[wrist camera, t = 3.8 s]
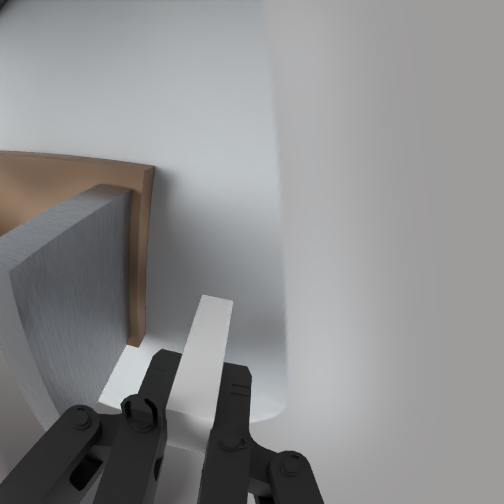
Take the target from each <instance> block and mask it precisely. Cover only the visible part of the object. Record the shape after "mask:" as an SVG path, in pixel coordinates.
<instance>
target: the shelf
mask: <svg viewBox="0 0 504 504" xmlns="http://www.w3.org/2000/svg"><path fill="white" fill-rule="evenodd" d="M154 167H155V166H150V165H144V164H137V163H130V162H122V161H115V160H107V159H98V158H89V157H80V156H70V155H59V154H47V153H34V152H17V151H0V237H1V236H3V235H4V234H6V233H8V232H9V231H11V230H12V229H14V228H16V227H17V226H19V225H21V224H23V223H24V222H26V221H28V220H29V219H31V218H33V217H35V216H37V215H38V214H40V213H42V212H44V211H46V210H48V209H49V208H51V207H53V206H55V205H57V204H59V203H61V202H63V201H65V200H67V199H69V198H71V197H73V196H75V195H77V194H79V193H81V192H83V191H85V190H87V189H89V188H92V187H94V186H96V185H98V184H100V183H101V184H107V185H113V186H119V187H125V188H131V189H133V192H132V204H131V220H130V242H129V309H130V331H131V337H130V339H129V341H128V343H127V345H131V346H134V347H138V348H139V346H140V344H141V342H142V340H143V338H144V336H145V280H146V255H147V238H148V224H149V213H150V202H151V192H152V183H153V175H154Z"/></svg>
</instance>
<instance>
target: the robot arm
mask: <svg viewBox="0 0 504 504" xmlns="http://www.w3.org/2000/svg"><path fill="white" fill-rule="evenodd" d="M5 1H6V0H0V7H1V6H2V5H3V4H4V2H5ZM233 302H234V301H232V300H227V299H222V298H217V297H213V296H208V295H203V294H202V297H201V300H200V303H199V306H198V309H197V311H196V314H195V317H194V320H193V324H192V327H191V330H190V333H189V336H188V339H187V342H186V345H185V348H184V351H183V354H181V353H177V352H173V351H169V350H165V349H161V350H159V351H158V352H157V353H156V354H155V355H154V356H153V357H152V360H151V362H150V365H149V368H148V369H147V372H146V375H145V377H144V379H143V382H142V384H141V387H140V389H139V392H138V394H134V395H130V396H128V397H127V398H125V399H124V400H123V401H122V403H121V409H122V413H121V414H117V415H109V414H97V413H96V412H95V411H94V410H93V409H92V408H91V407H88V406H86V405H79V404H78V405H74V406H71V407H70V408H68V409H67V410H66V411H65V412H64V413H63V414H62V415H61V416H60V418H59V419H58V420H57V421H56V422H55V423H54V424H53V425H52V426H51V427H50V428H49V430H48V431H47V432H46V433H45V434H44V435H43V436H42V438H40V440H39V441H38V442H37V443H36V444H35V445H34V446H33V447H32V448H31V450H30V451H29V452H28V453H27V454H26V455H25V456H24V457H23V459H22V460H21V461H20V462H19V463H18V464H17V465H16V467H15V468H14V469H13V470H12V471H11V472H10V473H9V475H8V476H7V477H6V478H5V479H4V480H3V482H2V483H1V484H0V504H79V503H80V501H81V500H82V499H83V497H84V496H85V495H86V493H87V492H88V490H89V489H90V488H91V486H92V485H93V484H94V482H95V481H96V479H97V478H98V477H99V475H100V474H101V473H102V471H103V470H104V471H103V474H102V477H101V480H100V483H99V486H98V489H97V492H96V495H95V498H94V501H93V504H153V502H154V498H155V493H156V489H157V485H158V480H159V476H160V472H161V468H162V464H163V460H164V450H165V446H166V442H167V445H170V446H174V447H178V448H183V449H187V450H192V451H197V452H202V453H205V460H204V464H203V469H202V476H201V482H200V488H199V494H198V501H197V504H247V496H248V492H249V493H252V494H253V495H254V499H255V503H256V504H324V502H323V499H322V496H321V494H320V491H319V488H318V485H317V483H316V480H315V477H314V474H313V472H312V469H311V466H310V464H309V462H308V460H307V459H306V457H304V456H303V455H302V454H300V453H298V452H295V451H283V452H280V453H276V452H274V451H271V450H269V449H266V448H264V447H262V446H260V445H258V444H257V443H256V442H255V441H254V440H253V438H252V437H251V435H250V433H249V417H250V400H251V398H250V397H251V383H252V376H251V374H250V371H249V369H248V367H247V366H242V365H236V364H231V363H226V362H224V356H225V350H226V344H227V338H228V332H229V326H230V320H231V314H232V308H233ZM104 468H105V469H104Z"/></svg>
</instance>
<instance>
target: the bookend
mask: <svg viewBox="0 0 504 504" xmlns="http://www.w3.org/2000/svg"><path fill="white" fill-rule="evenodd" d="M132 192H133V189H131V188H125V187H119V186H113V185H107V184H101V183H100V184H98V185H96V186H94V187H92V188H89V189H87V190H85V191H83V192H81V193H79V194H77V195H75V196H73V197H71V198H69V199H67V200H65V201H63V202H61V203H59V204H57V205H55V206H53V207H51V208H49V209H48V210H46V211H44V212H42V213H40V214H38V215H37V216H35V217H33V218H31V219H29V220H28V221H26V222H24V223H23V224H21V225H19V226H17V227H16V228H14V229H12V230H11V231H9V232H8V233H6V234H4V235H3V236H1V237H0V348H1V350H2V353H3V355H4V357H5V360H6V362H7V364H8V366H9V368H10V370H11V372H12V374H13V376H14V378H15V380H16V382H17V384H18V386H19V388H20V390H21V392H22V394H23V395H24V397H25V399H26V401H27V402H28V404H29V406H30V408H31V409H32V411H33V413H34V414H35V416H36V417H37V419H38V421H39V422H40V424H41V425H42V427H43V428H44V430H45V431H48V430H49V428H50V427H51V426H52V425H53V424H54V423H55V422H56V421H57V420H58V419H59V418H60V416H61V415H62V414H63V413H64V412H65V411H66V410H67V409H68V408H70V407H71V406H74V405H78V404H79V405H86V406H88V407H91V408H92V409H93V410H94V408H95V406H96V404H97V401H98V399H99V397H100V395H101V393H102V391H103V389H104V387H105V385H106V383H107V381H108V379H109V377H110V375H111V373H112V371H113V369H114V367H115V366H116V364H117V362H118V360H119V358H120V356H121V354H122V352H123V350H124V348H125V347H126V345H127V343H128V341H129V339H130V337H131V331H130V309H129V242H130V220H131V204H132Z"/></svg>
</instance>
